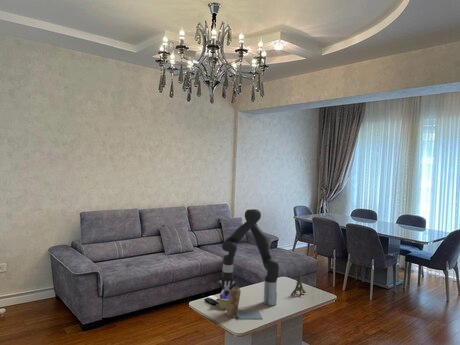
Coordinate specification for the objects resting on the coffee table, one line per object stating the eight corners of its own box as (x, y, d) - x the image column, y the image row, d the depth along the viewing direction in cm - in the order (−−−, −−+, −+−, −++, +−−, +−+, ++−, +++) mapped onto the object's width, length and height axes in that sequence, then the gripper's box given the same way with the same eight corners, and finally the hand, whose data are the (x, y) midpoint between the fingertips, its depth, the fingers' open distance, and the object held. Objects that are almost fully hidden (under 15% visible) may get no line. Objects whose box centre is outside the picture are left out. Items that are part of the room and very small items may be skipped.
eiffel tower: (290, 294, 282) (291, 264, 282) (295, 291, 291) (296, 261, 291) (302, 297, 277) (304, 266, 276) (307, 294, 286) (308, 264, 285)
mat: (258, 310, 248) (258, 308, 248) (262, 319, 234) (262, 316, 234) (234, 310, 246) (234, 307, 246) (237, 319, 232) (237, 316, 232)
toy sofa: (230, 309, 248) (231, 295, 248) (218, 308, 249) (219, 294, 249) (235, 298, 268) (236, 285, 268) (224, 297, 270) (225, 284, 270)
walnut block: (234, 312, 243) (239, 287, 243) (236, 317, 235) (240, 291, 235) (226, 311, 242) (230, 286, 242) (227, 316, 234) (232, 290, 234)
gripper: (236, 269, 242) (235, 293, 242) (217, 268, 241) (216, 293, 241) (238, 272, 235) (236, 297, 235) (218, 271, 233) (217, 297, 233)
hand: (226, 295), depth 238 cm, fingers closed
